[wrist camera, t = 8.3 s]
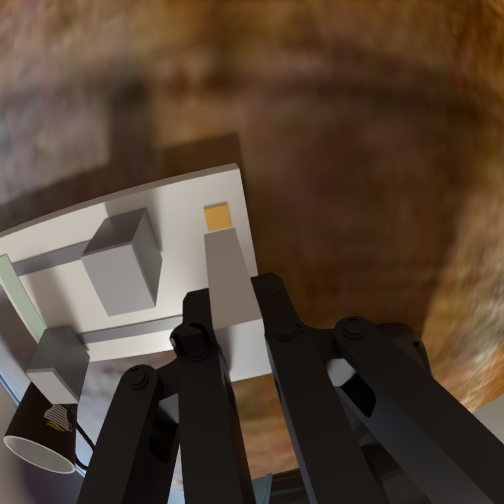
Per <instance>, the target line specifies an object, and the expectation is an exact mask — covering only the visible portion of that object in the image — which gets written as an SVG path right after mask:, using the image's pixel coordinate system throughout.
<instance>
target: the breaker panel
mask: <svg viewBox="0 0 504 504" xmlns="http://www.w3.org/2000/svg"><path fill="white" fill-rule="evenodd" d="M145 207H146V209H147V212H148V216H149V219H150V222H151V225H152V229H153V232H154V235H155V238H156V241H157V244H158V247H159V250H160V253H161V256H162V259H163V261H162V267H161V273H160V280H159V287H158V294H157V301H156V307H155V308H150V309H145V310H140V311H135V312H130V313H125V314H120V315H114V316H109V317H108V315H107V313H106V311H105V309H104V307H103V305H102V303H101V301H100V299H99V297H98V295H97V293H96V291H95V289H94V287H93V285H92V282H91V280H90V278H89V276H88V274H87V272H86V269H85V267H84V265H83V263H82V260H81V258H80V257H81V255H82V253H83V252H84V250H85V249H86V247H87V245H88V244H89V242H90V241H91V239H92V238H93V236H94V234H95V233H96V231H97V230H98V228H99V227H100V225H101V224H102V222H103V221H104V219H105V218H108V217H112V216H115V215H119V214H122V213H126V212H130V211H134V210H137V209H141V208H145ZM234 227H235V230H236V234H237V237H238V240H239V244H240V247H241V250H242V253H243V257H244V260H245V263H246V267H247V270H248V273H249V276H250V277H254V276H258V271H257V266H256V260H255V254H254V249H253V243H252V237H251V232H250V226H249V220H248V215H247V209H246V203H245V198H244V192H243V186H242V181H241V175H240V169H239V167H238V166H237V164H236V163H232V164H227V165H222V166H217V167H212V168H208V169H203V170H199V171H195V172H190V173H186V174H182V175H178V176H173V177H169V178H165V179H161V180H158V181H154V182H150V183H146V184H142V185H139V186H135V187H132V188H128V189H124V190H121V191H118V192H114V193H111V194H107V195H104V196H101V197H98V198H94V199H91V200H88V201H85V202H82V203H79V204H76V205H73V206H70V207H67V208H64V209H61V210H58V211H55V212H52V213H49V214H46V215H44V216H41V217H38V218H35V219H33V220H30V221H27V222H25V223H22V224H20V225H17V226H14V227H12V228H9V229H7V230H4V231H2V232H0V283H1V285H2V287H3V288H4V290H5V292H6V294H7V296H8V298H9V299H10V301H11V303H12V304H13V306H14V308H15V310H16V311H17V313H18V315H19V316H20V318H21V319H22V321H23V323H24V324H25V326H26V327H27V329H28V330H29V332H30V333H31V335H32V336H33V338H34V339H35V341H36V342H37V344H38V343H39V341H40V338H41V336H42V334H43V332H44V330H45V329H48V328H54V327H60V326H66V325H70V326H71V328H72V329H73V331H74V332H75V334H76V336H77V337H78V339H79V340H80V342H81V344H82V345H83V347H84V348H85V350H86V351H87V353H88V354H89V356H90V360H89V362H92V361H100V360H108V359H115V358H122V357H129V356H136V355H142V354H148V353H154V352H160V351H166V350H172V349H173V347H172V345H171V342H170V340H169V337H170V334H171V332H172V331H173V330H174V328H175V327H177V326H178V325H180V324H181V323H182V319H183V317H182V312H183V310H182V304H183V299H184V297H185V296H186V294H187V292H190V291H195V290H200V289H204V288H209V285H208V275H207V264H206V253H205V241H204V234H207V233H212V232H216V231H221V230H225V229H230V228H234Z"/></svg>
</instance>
